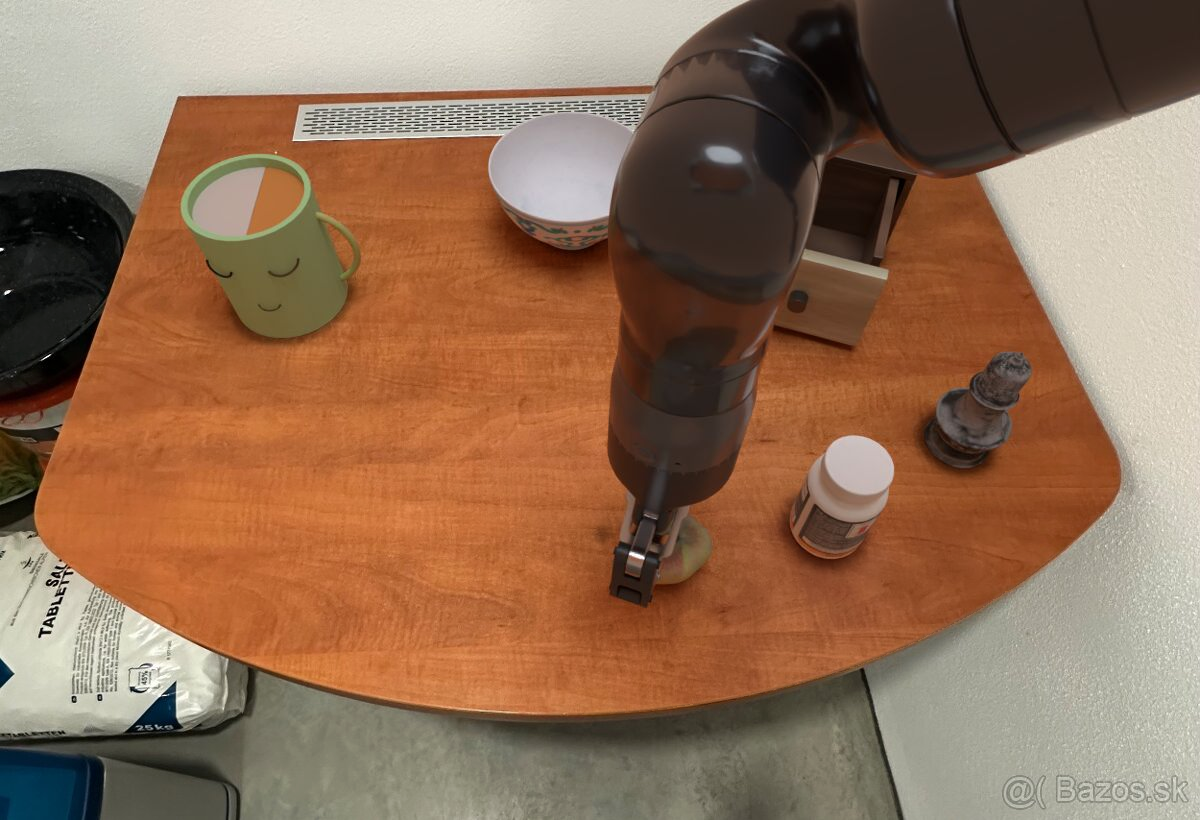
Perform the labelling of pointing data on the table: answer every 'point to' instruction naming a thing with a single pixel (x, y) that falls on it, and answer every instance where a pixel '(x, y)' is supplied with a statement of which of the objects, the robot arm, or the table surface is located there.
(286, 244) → the mug
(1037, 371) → the table surface
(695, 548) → the apple
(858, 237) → the drawer
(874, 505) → the pill bottle
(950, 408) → the chess piece
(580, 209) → the chinaware
